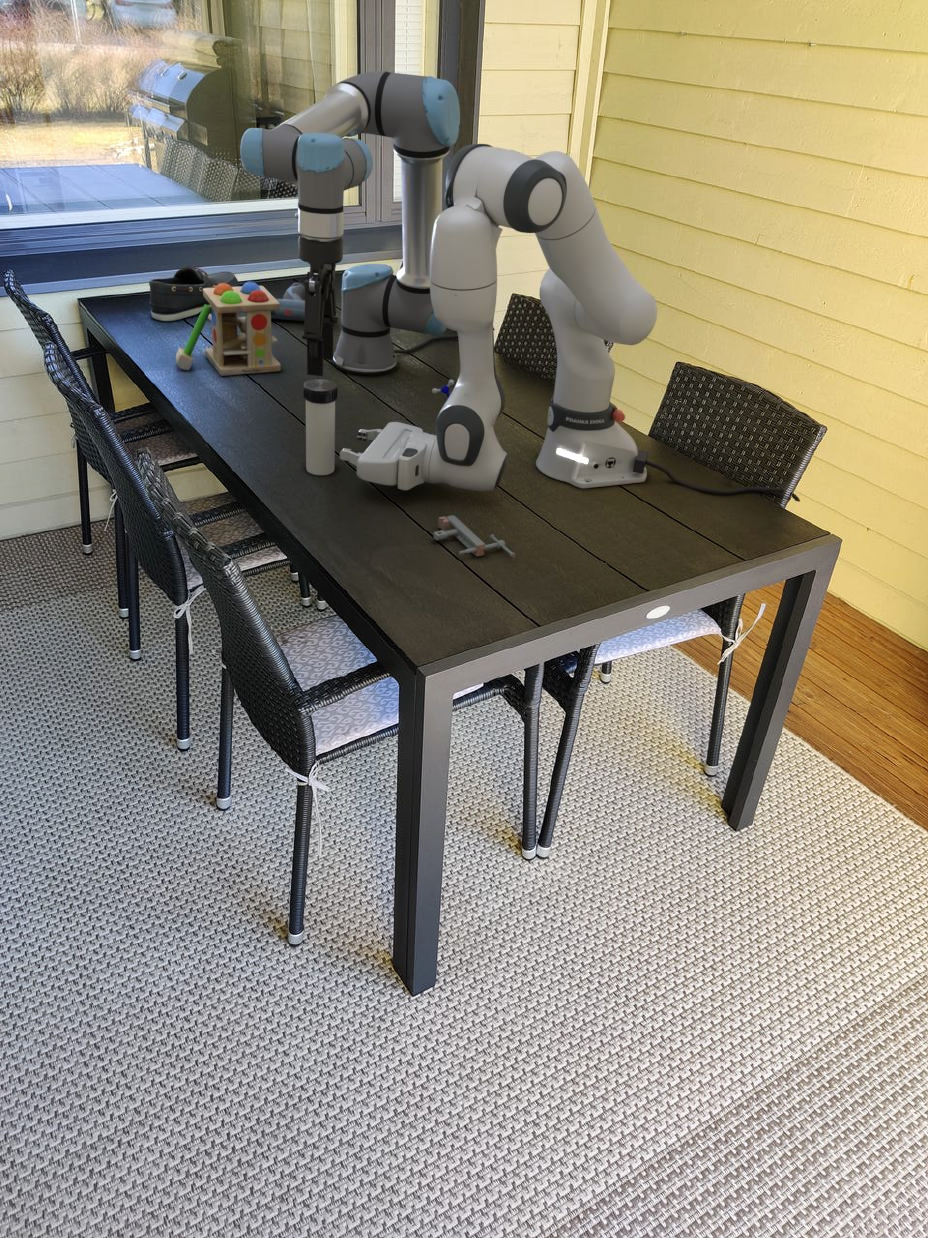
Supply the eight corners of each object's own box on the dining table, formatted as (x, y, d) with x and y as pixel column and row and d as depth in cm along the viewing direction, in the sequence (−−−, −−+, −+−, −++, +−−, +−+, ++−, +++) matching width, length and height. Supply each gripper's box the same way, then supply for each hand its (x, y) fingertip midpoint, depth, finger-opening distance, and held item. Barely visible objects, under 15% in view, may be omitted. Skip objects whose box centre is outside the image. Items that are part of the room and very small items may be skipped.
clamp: (423, 519, 171) (472, 509, 176) (423, 530, 173) (471, 520, 177) (466, 561, 161) (517, 549, 165) (465, 572, 162) (516, 561, 167)
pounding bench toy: (183, 379, 220) (176, 299, 210) (169, 357, 231) (162, 280, 221) (282, 371, 230) (280, 294, 220) (264, 350, 240) (262, 276, 230)
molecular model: (479, 418, 207) (464, 372, 206) (439, 432, 211) (424, 387, 209) (495, 415, 218) (481, 371, 216) (457, 429, 221) (443, 386, 220)
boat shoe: (257, 300, 274) (255, 261, 268) (168, 323, 250) (164, 281, 244) (224, 291, 279) (221, 254, 274) (133, 313, 256) (128, 272, 250)
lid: (344, 397, 182) (344, 385, 181) (321, 406, 178) (321, 394, 177) (319, 388, 185) (319, 376, 184) (296, 396, 181) (296, 384, 179)
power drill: (344, 304, 276) (335, 327, 259) (277, 298, 275) (264, 321, 258) (344, 285, 273) (335, 306, 256) (277, 279, 272) (264, 300, 255)
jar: (340, 469, 190) (341, 387, 181) (321, 477, 187) (321, 395, 177) (319, 460, 193) (319, 379, 183) (300, 468, 189) (299, 386, 180)
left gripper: (312, 219, 174) (313, 345, 187) (283, 247, 157) (285, 384, 170) (354, 224, 174) (351, 350, 187) (329, 253, 157) (328, 389, 169)
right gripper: (436, 420, 189) (368, 408, 192) (405, 462, 173) (331, 448, 175) (434, 450, 193) (367, 438, 195) (403, 494, 176) (330, 480, 178)
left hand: (320, 366), depth 178 cm, fingers open, 8 cm apart
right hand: (349, 443), depth 185 cm, fingers open, 8 cm apart
